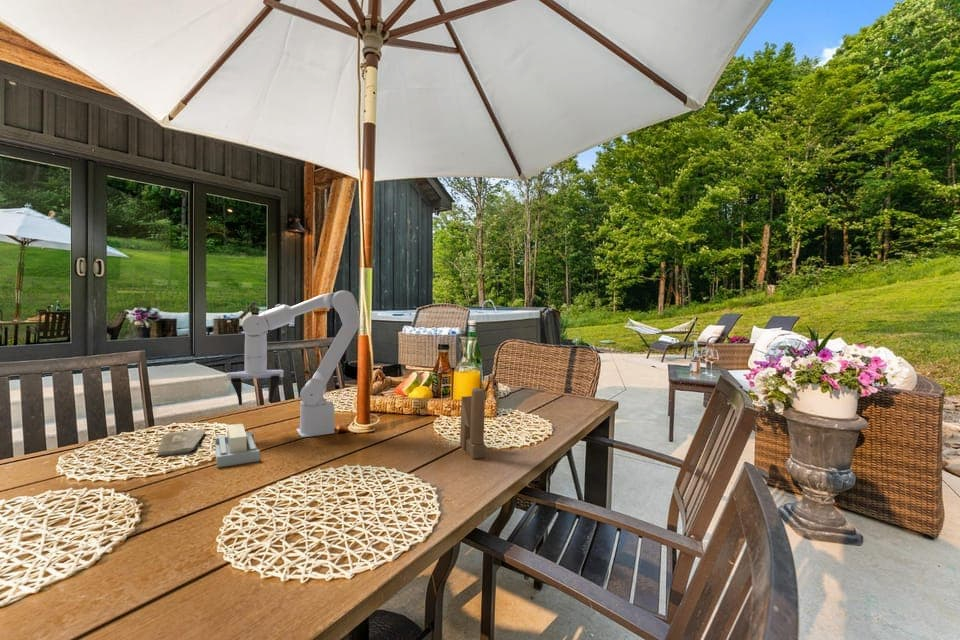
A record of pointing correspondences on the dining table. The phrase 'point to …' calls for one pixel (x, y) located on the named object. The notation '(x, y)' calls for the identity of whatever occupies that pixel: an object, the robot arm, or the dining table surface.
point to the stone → (179, 442)
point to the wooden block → (473, 423)
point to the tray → (235, 458)
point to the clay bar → (236, 438)
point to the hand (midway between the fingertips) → (255, 403)
